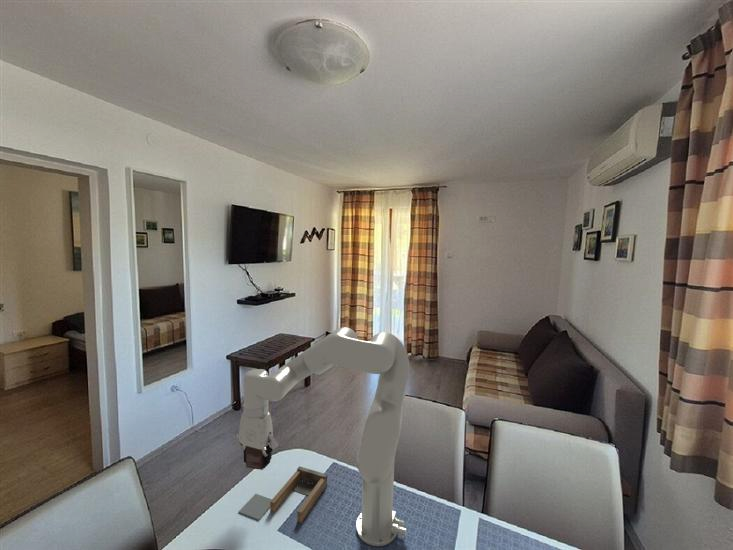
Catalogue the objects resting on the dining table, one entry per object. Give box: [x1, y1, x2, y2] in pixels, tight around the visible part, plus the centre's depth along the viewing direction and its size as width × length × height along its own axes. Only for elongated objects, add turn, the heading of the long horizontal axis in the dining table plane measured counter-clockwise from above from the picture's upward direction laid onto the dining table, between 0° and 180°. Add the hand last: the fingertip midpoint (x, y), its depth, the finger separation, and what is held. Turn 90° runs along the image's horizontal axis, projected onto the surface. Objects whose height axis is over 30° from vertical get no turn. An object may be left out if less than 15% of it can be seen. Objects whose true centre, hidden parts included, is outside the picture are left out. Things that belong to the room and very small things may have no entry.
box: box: [245, 444, 273, 471], centre depth 102 cm, size 6×6×7 cm
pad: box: [238, 493, 273, 521], centre depth 102 cm, size 8×8×1 cm
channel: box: [269, 465, 328, 524], centre depth 106 cm, size 12×17×4 cm
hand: (257, 462), depth 101 cm, fingers closed on box, 6 cm apart
